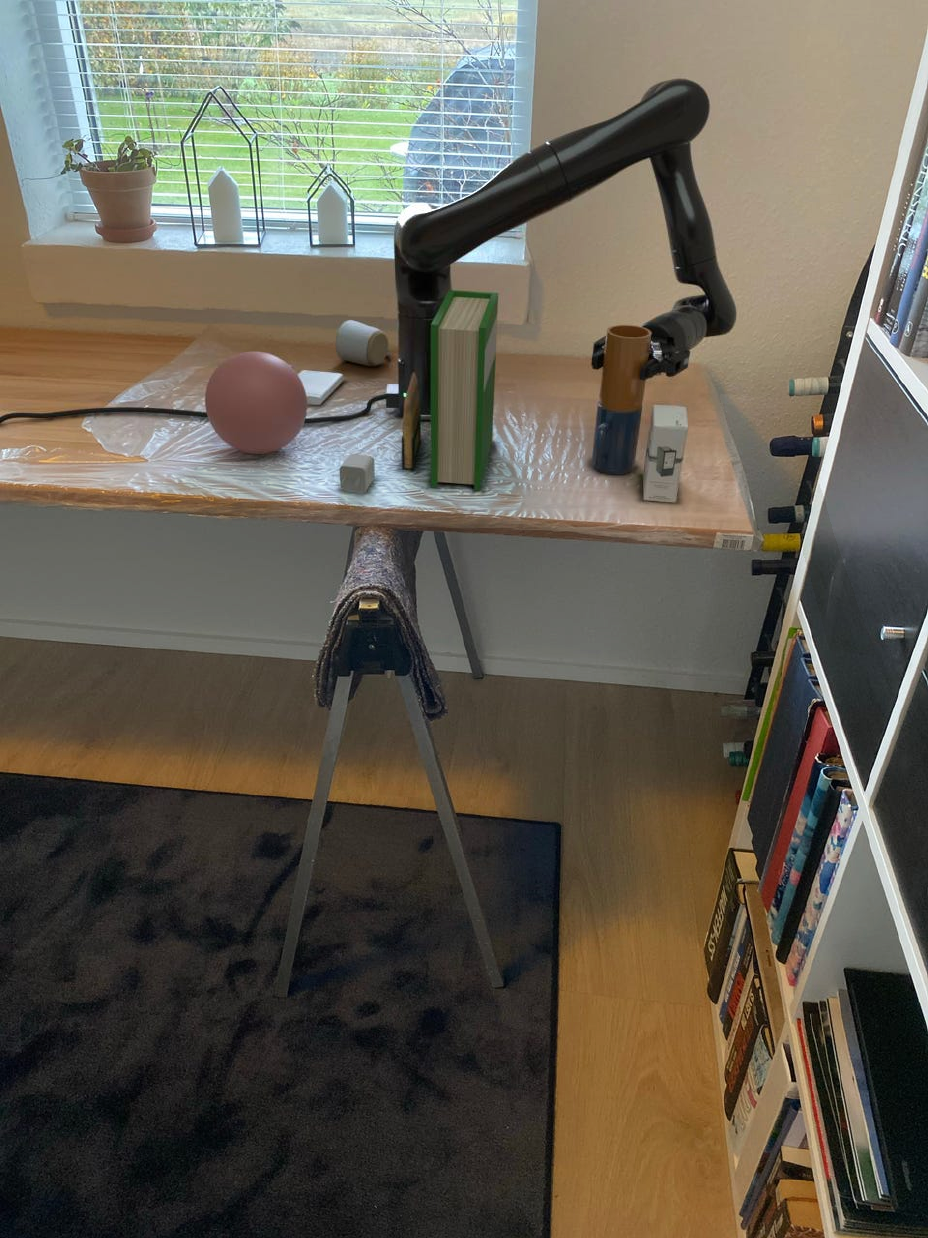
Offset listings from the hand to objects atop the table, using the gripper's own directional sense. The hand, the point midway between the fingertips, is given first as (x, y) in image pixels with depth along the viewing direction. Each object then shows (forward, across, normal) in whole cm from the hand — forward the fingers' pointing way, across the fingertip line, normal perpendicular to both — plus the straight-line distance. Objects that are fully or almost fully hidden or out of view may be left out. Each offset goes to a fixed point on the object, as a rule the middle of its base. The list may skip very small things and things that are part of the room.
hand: (618, 368), depth 136 cm
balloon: (+23, -49, +16) cm, 56 cm away
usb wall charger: (+28, -27, +16) cm, 42 cm away
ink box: (+1, +9, +16) cm, 19 cm away
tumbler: (-2, 0, +6) cm, 7 cm away
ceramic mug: (-18, -62, +16) cm, 66 cm away
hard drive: (+1, -59, +16) cm, 61 cm away
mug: (-1, 0, +16) cm, 16 cm away
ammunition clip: (+13, -28, +16) cm, 35 cm away
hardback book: (+11, -19, +16) cm, 28 cm away
